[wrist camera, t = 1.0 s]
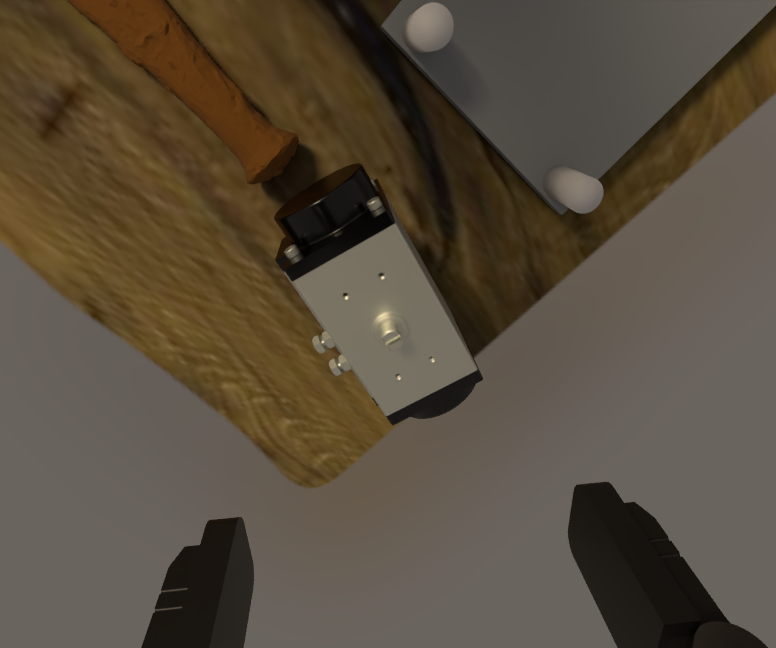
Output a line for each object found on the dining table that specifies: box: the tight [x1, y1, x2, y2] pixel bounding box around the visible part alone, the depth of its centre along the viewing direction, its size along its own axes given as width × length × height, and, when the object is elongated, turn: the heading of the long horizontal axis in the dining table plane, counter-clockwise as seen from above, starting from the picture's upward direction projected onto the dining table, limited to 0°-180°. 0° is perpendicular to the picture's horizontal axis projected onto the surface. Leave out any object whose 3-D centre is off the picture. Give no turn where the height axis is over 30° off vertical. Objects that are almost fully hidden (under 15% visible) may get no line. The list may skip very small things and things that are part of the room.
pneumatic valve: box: [274, 163, 483, 425], centre depth 26 cm, size 6×12×12 cm, turn 29°
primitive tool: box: [67, 0, 299, 184], centre depth 24 cm, size 19×6×4 cm, turn 44°
